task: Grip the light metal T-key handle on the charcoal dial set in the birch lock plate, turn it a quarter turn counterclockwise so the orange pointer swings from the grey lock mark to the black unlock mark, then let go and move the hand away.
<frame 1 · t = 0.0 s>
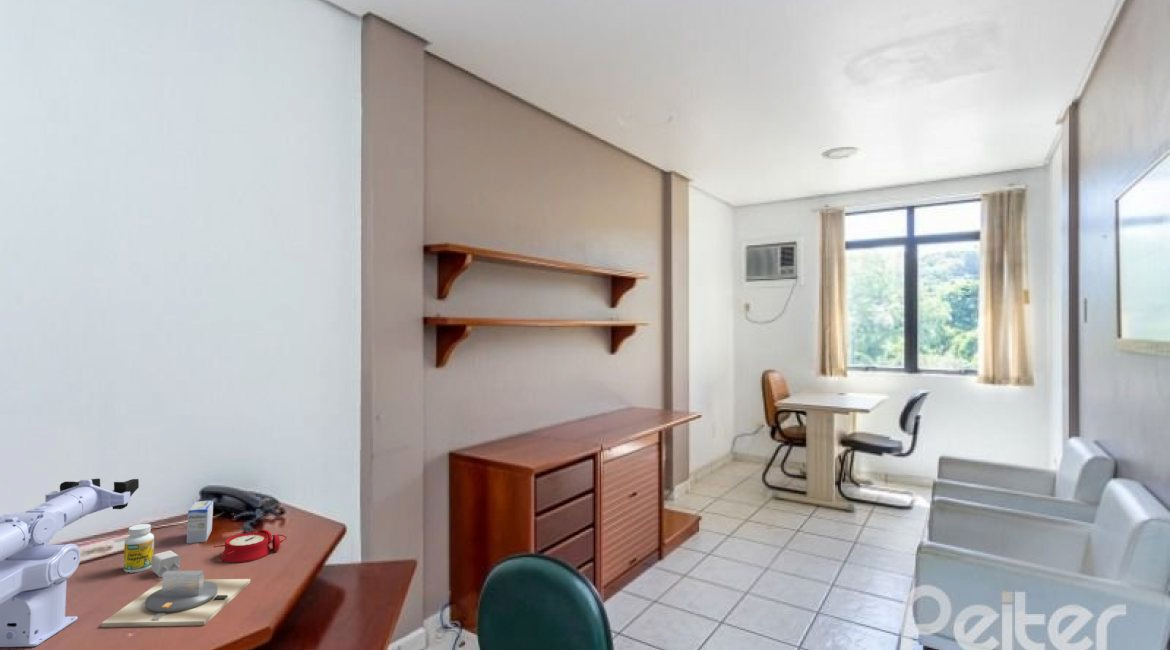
hand: (117, 483, 122), 22 cm above the table, tool horizontal, fingers open, 7 cm apart
alarm clock: (253, 554, 141), on the table
lock plate: (182, 602, 115), on the table
medicine box: (199, 538, 149), on the table
supplement bottle: (138, 569, 130), on the table
usb wall charger: (167, 574, 128), on the table
twist dial: (182, 585, 115), point 4 cm above the table, hinge at 0.0°
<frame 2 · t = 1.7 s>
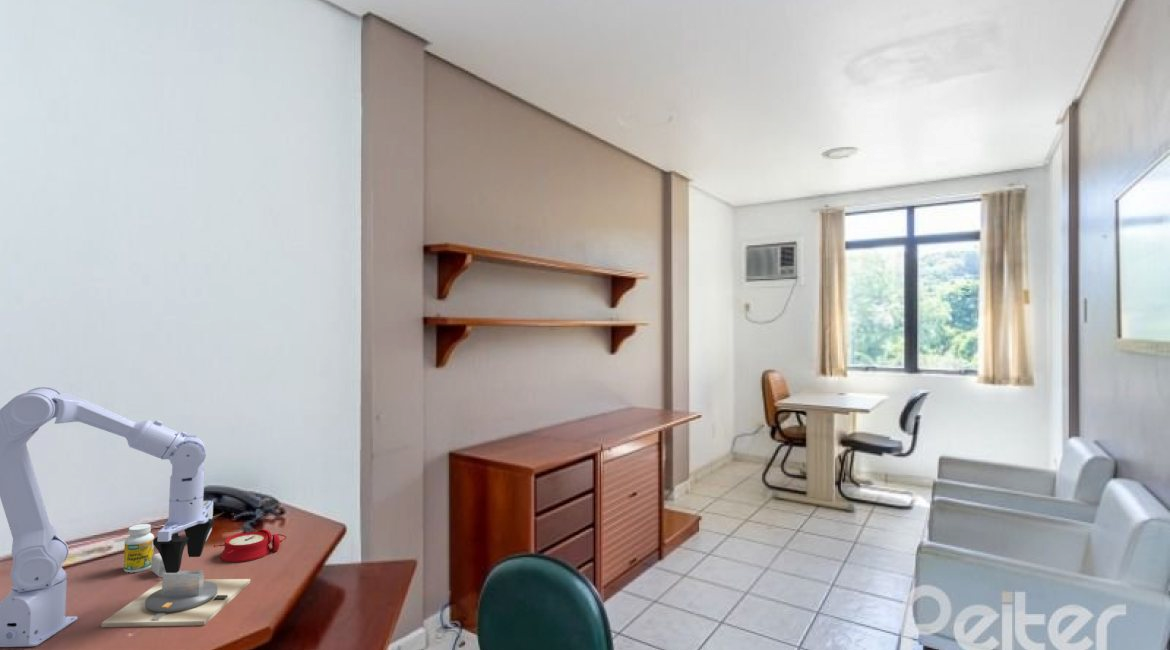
hand: (184, 564, 115), 8 cm above the table, tool pointing down, fingers open, 7 cm apart
nothing on the table moved.
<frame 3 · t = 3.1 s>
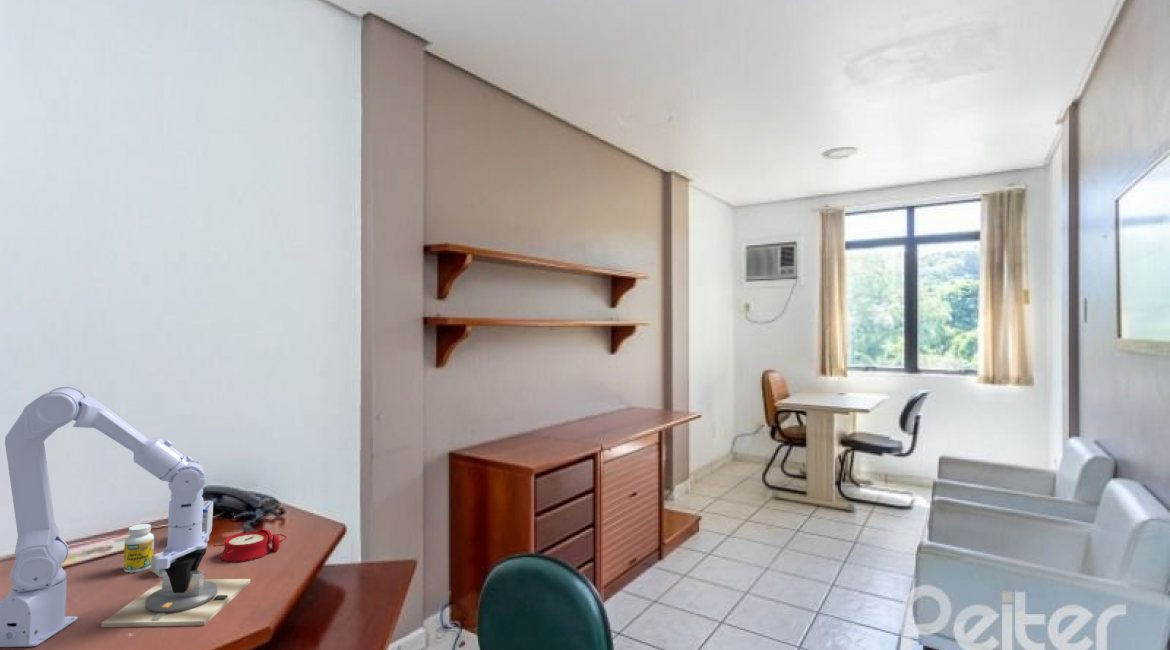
hand: (182, 589, 115), 3 cm above the table, tool pointing down, fingers closed on twist dial, 2 cm apart
twist dial: (182, 585, 115), point 4 cm above the table, hinge at 0.0°, touching gripper
everything else where it was.
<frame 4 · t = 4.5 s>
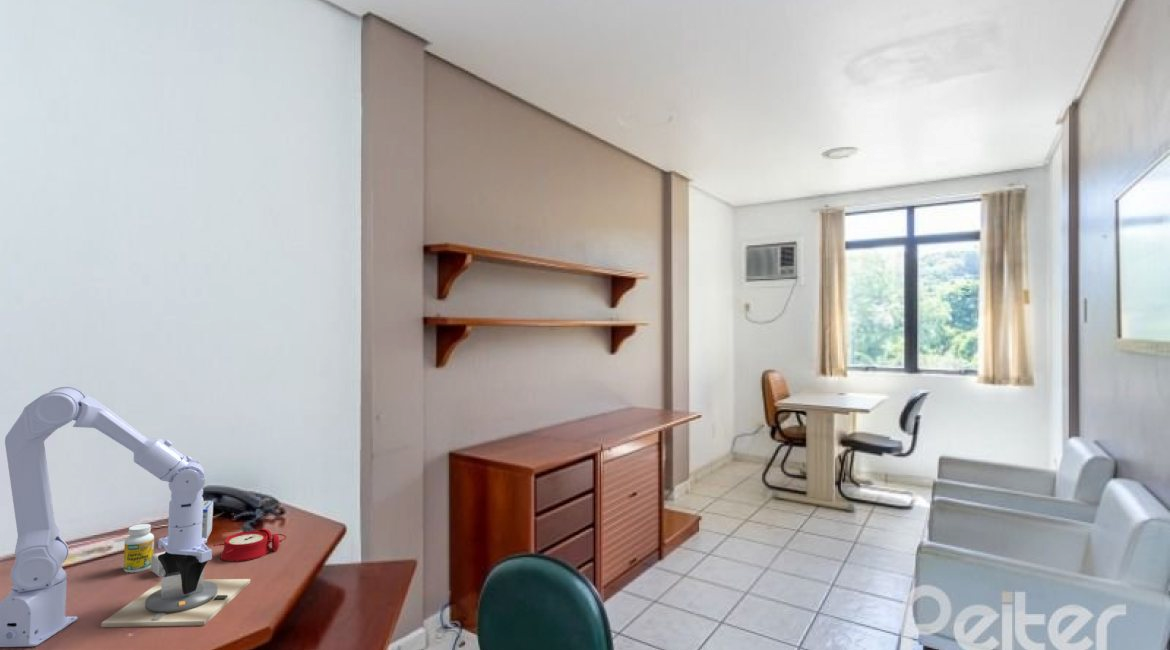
hand: (182, 589, 115), 3 cm above the table, tool pointing down, fingers closed on twist dial, 4 cm apart
twist dial: (182, 585, 115), point 4 cm above the table, hinge at 28.4°, touching gripper
everything else where it was.
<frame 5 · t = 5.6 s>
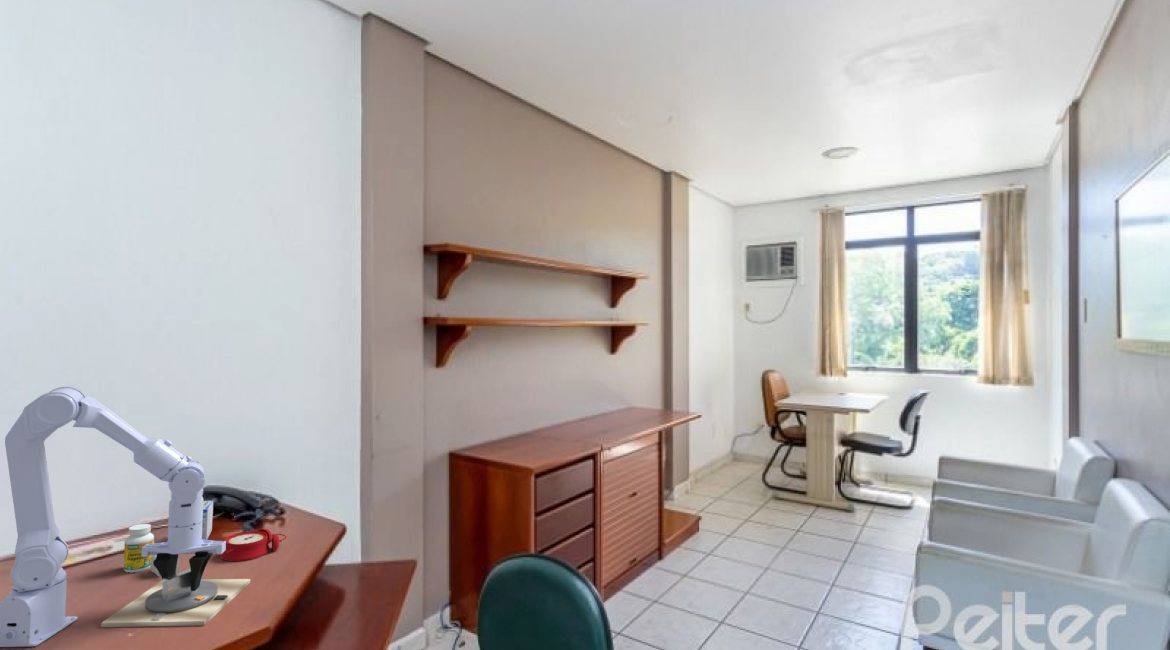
hand: (182, 589, 115), 3 cm above the table, tool pointing down, fingers closed on twist dial, 4 cm apart
twist dial: (182, 585, 115), point 4 cm above the table, hinge at 63.9°, touching gripper
everything else where it was.
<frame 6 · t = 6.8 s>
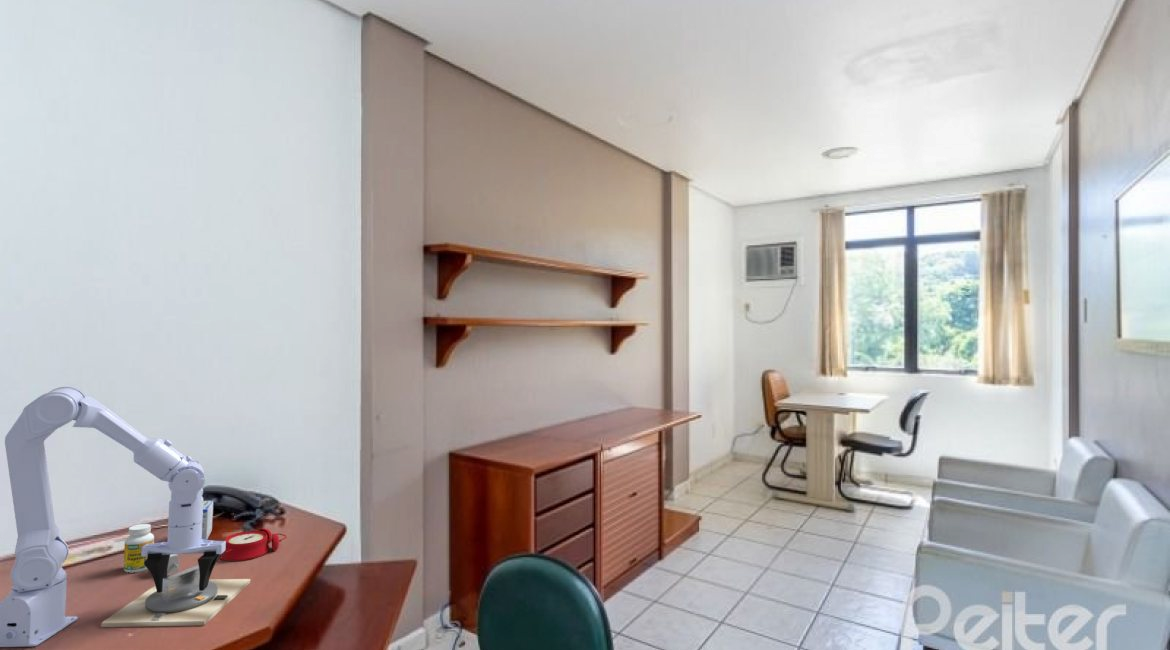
hand: (182, 589, 115), 3 cm above the table, tool pointing down, fingers open, 7 cm apart
twist dial: (182, 585, 115), point 4 cm above the table, hinge at 64.2°
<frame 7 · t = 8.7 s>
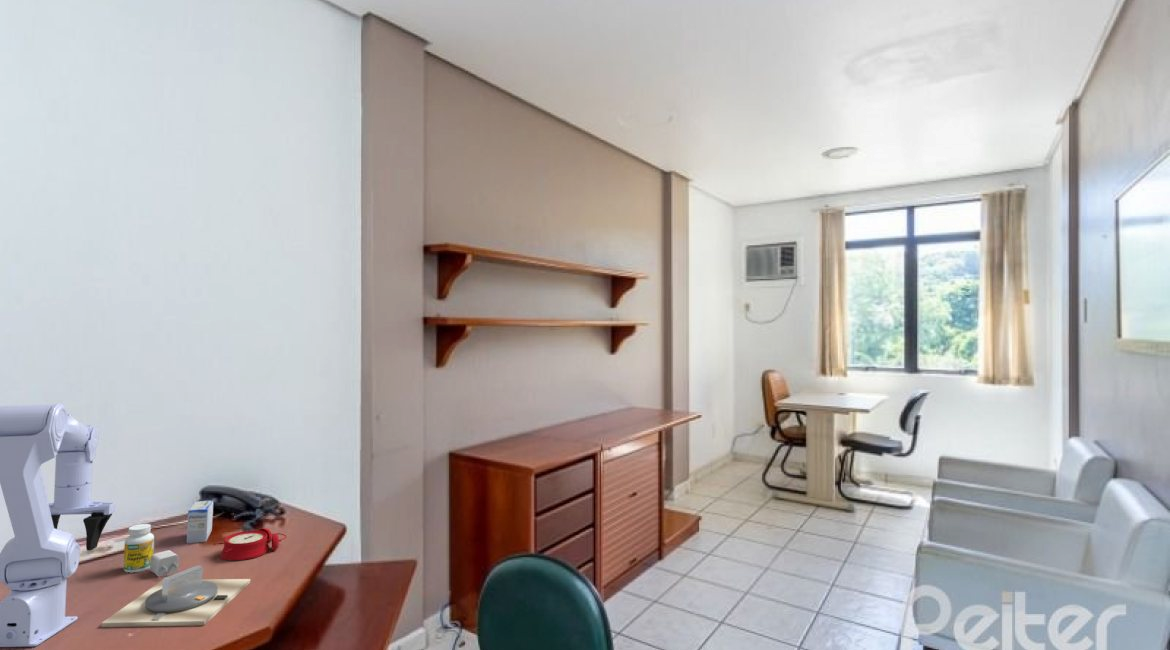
hand: (70, 549, 117), 9 cm above the table, tool pointing down, fingers open, 7 cm apart
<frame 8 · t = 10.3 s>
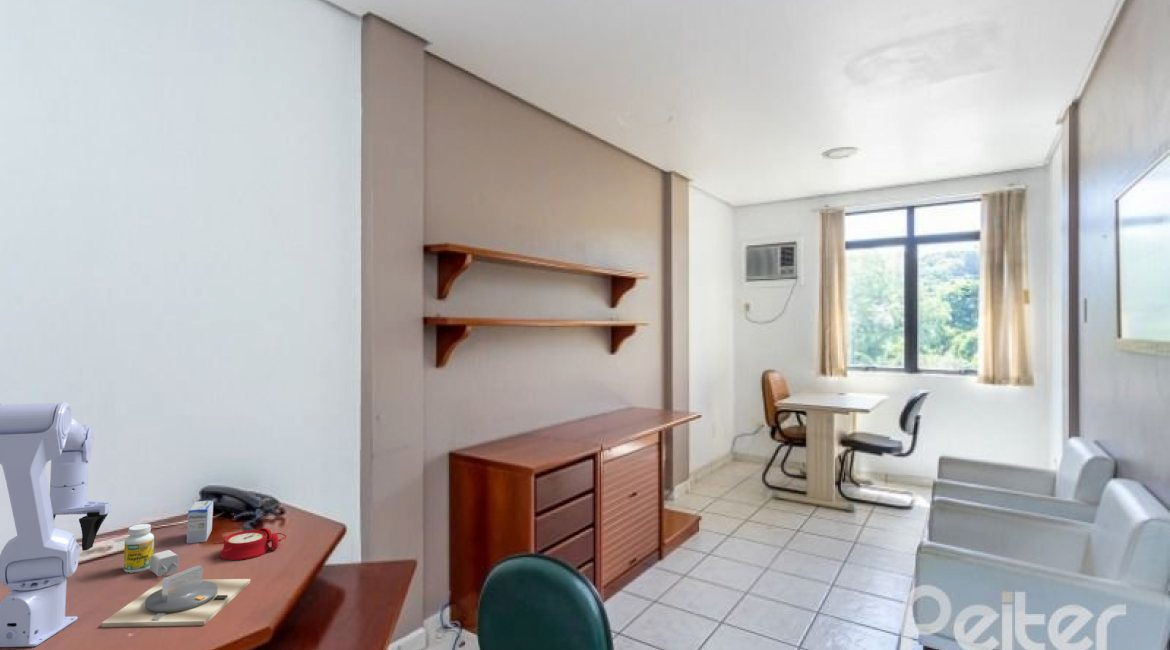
hand: (66, 549, 117), 9 cm above the table, tool pointing down, fingers open, 7 cm apart
at the end: twist dial at +64° (first picture: +0°); usb wall charger moved 0.6 cm from its start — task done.
